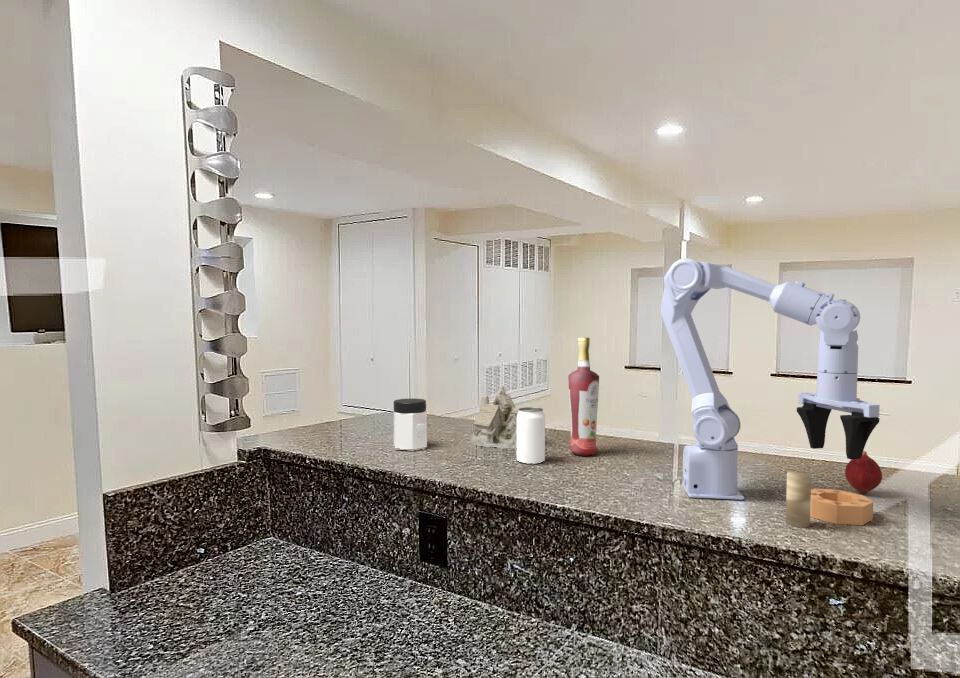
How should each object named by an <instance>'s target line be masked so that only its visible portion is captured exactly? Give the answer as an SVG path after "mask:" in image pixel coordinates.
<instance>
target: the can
mask: <svg viewBox="0 0 960 678" xmlns="http://www.w3.org/2000/svg"><path fill="white" fill-rule="evenodd" d="M518 408H519V412H518V414H517V449H516V461H517V462H518V461H519V462H522V463H541V462H543V461H544V462H545V461H546V456H545V455H546V416H545V413H544V409H543V408H541V407H534V406H529V407H528V406H527V407H518ZM519 462H518V463H519ZM544 462H543V463H544ZM522 463H521V464H522ZM541 464H542V463H541Z"/></svg>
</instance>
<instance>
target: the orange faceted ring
mask: <svg viewBox="0 0 960 678" xmlns="http://www.w3.org/2000/svg"><path fill="white" fill-rule="evenodd" d="M810 518H812V519H815V520H820V521H824V522H828V523H831V524H835V525H847V524H848V526H865V525H866V524H865V523H867V522H869V521H871V520H873V519H874V501H873V500H870V498H867V497H866V496H865V495H864V494H859V493H855V492H854V493H853V492H850V491H845V490H842V489H832V488H831V489H830V488H828V489H827V488H811V507H810ZM871 522H872V521H871ZM869 523H870V522H869ZM849 524H850V525H849ZM864 524H865V525H864ZM867 524H868V523H867Z"/></svg>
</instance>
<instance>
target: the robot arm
mask: <svg viewBox="0 0 960 678" xmlns="http://www.w3.org/2000/svg"><path fill="white" fill-rule="evenodd" d="M663 284H664V287H663V288H664V289H663V294H662V300H661V305H660V315H661V317H662V321H663V324H664V326H665V329H666V330H667V334H668V337H669V340H670V342H671V345H672V348H673V350H674V354H675V356H676V358H677V361H678V364H679V367H680V370H681V372H682V375H683V379H684V381H685V383H686V386H687V389H688V391H689V395H690V398H691V406H690V407H691V409H690V411H691V415H692V418H693V424H692V433H693V436H694V438H695V440H696V441H695V444H692V445H691V444H689V445H685V446H684V447H683V452H682V483H681V486H682V487H683V489H684V491H685V493H686V494H687V495H688V497H689V498H696V499H697V498H698V499H699V498H700V499H719V500H720V499H721V500H745V497H744V495H743V494H742V493H741V492H740V491H739V490H738V464H739V463H738V460H739V457H738V456H739V455H738V453H739V450H738V448H739V445H738V443H737V441H736V440H735V439H736V438H735V437H737V435H738V434H739V433H740V431H741V419H740V418H739V415H738V414H737V413H736V412H735V411H734V410H733V409H732V408H731V407H730V404H729V402H728V400H727V398H726V397H725V396H724V394H722V392H721V391H720V388H719V385H718V383H717V380H716V378H715V375H714V373H713V370H712V367H711V364H710V362H709V361H710V360H709V359H708V357H707V354H706V351H705V348H704V346H703V342H702V340H701V337H700V335H699V331H698V329H697V327H696V323H695V321H694V319H693V317H692V313H693V311H694V308H695V307H696V305H697V304H698V302H699V300H700V299H701V298H702V297H704V295H706V294H708V292H709V291H710V290H711V289H715V290H717V289H718V290H719V289H724V288H728V289H731V290H734V291H737V292H739V293H743V294H745V295H748V296H751V297H754V298H756V299H757V298H758V299H761V300H763V301H766V302H769V304H770V305H771V308H772V311H773V312H774V313H776V314H779V315H782V316H784V317H787V318H789V319H792V320H795V321H798V322H799V323H803V324H806V325H808V326H814V325H817V327H818V329H819V343H818V345H817V371H816V373H817V374H816V375H817V376H816V393H811V392H799V393H798V399H797V401H798V402H797V403H798V404H799V405H802V406H798V407H796V412H797V414H798V416H799V417H800V419H801V421H802V424H803V426H804V428H805V431H806V434H807V438H808V439H807V440H808V442H809V443H808V444H809V447H810V448H811V449H813V450H814V449H824V446H825V443H826V431H827V424H828V420H829V417H830V414H831V412H832V410H834V411H838V412H843V413H848V414H842V415H839V418H840V421H841V423H842V427H843V431H844V436H845V455H846V459H847V460H852V459H861V456H862V453H863V451H865V447H866V445H867V442H868V439H869V438H870V436H871V434H872V432H873V431H874V430H875V428H876V427H877V425H878V424H879V423H880V404H877V403H876V404H875V403H872V402H869V401H865V400H861V398H860V397H857V396H858V395H857V394H858V373H859V371H858V369H859V368H858V367H859V345H858V343H857V342H858V340H859V334H858V330H856V328H857V327H858V326H859V324H860V321H861V313H860V310H859V309H858V307H856V305H855V304H853V303H852V302H850V301H847V299H842V298H841V299H834V297H835V293H831V292H829V291H828V292H827V293H823V292H821V291H818V290H815V289H812V288H809V287H806V286H805V285H806V283H805V282H803V281H799V280H796V281H795V283H794V282H792V281H786V282H783V283H781V284H778V285H776V284H774V283H771V282H768V281H766V280H764V279H761V278H759V277H756V276H753V275H750V274H748V273H747V272H746V273H745V272H743V271H740V270H738V269H736V268H733V267H729V266H725V265H721V264H716V263H711V262H706V261H705V262H704V261H697V260H694V259H692V258H690V257H688V258H684V257H683V258H680V259H677V261H675V262H674V263H672V265H671V266H670V267H669V269H668V270H667V272H666V274H665V276H664V277H663ZM849 413H850V414H849Z"/></svg>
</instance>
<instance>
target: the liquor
mask: <svg viewBox="0 0 960 678" xmlns="http://www.w3.org/2000/svg"><path fill="white" fill-rule="evenodd" d="M577 341H578V342H577V343H578V345H577V346H578V350H579V351H578V363H577V369H576V370H574V371H572V372H571V373H570V374H568V377H567V378H568V399H569V419H570V420H569V421H570V426H569V427H570V445H569V446H568V449H569V450H570V451H571V453H572V454H573V455H575V454H576V455H575V456H578V455H580V456H579V457H591V456H594V454H595V453H596V452H597V451H598V450H599V448H598V447H597V426H598V425H597V424H598V408H599V407H598V406H599V394H600V393H599V390H600V389H599V388H600V375H599V374H597V372H595V371H593V370H592V369H591V364H590V362H591V360H590V351H589V350H590V346H591V345H590V344H591V343H590V337H578V338H577ZM590 455H591V456H590Z"/></svg>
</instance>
